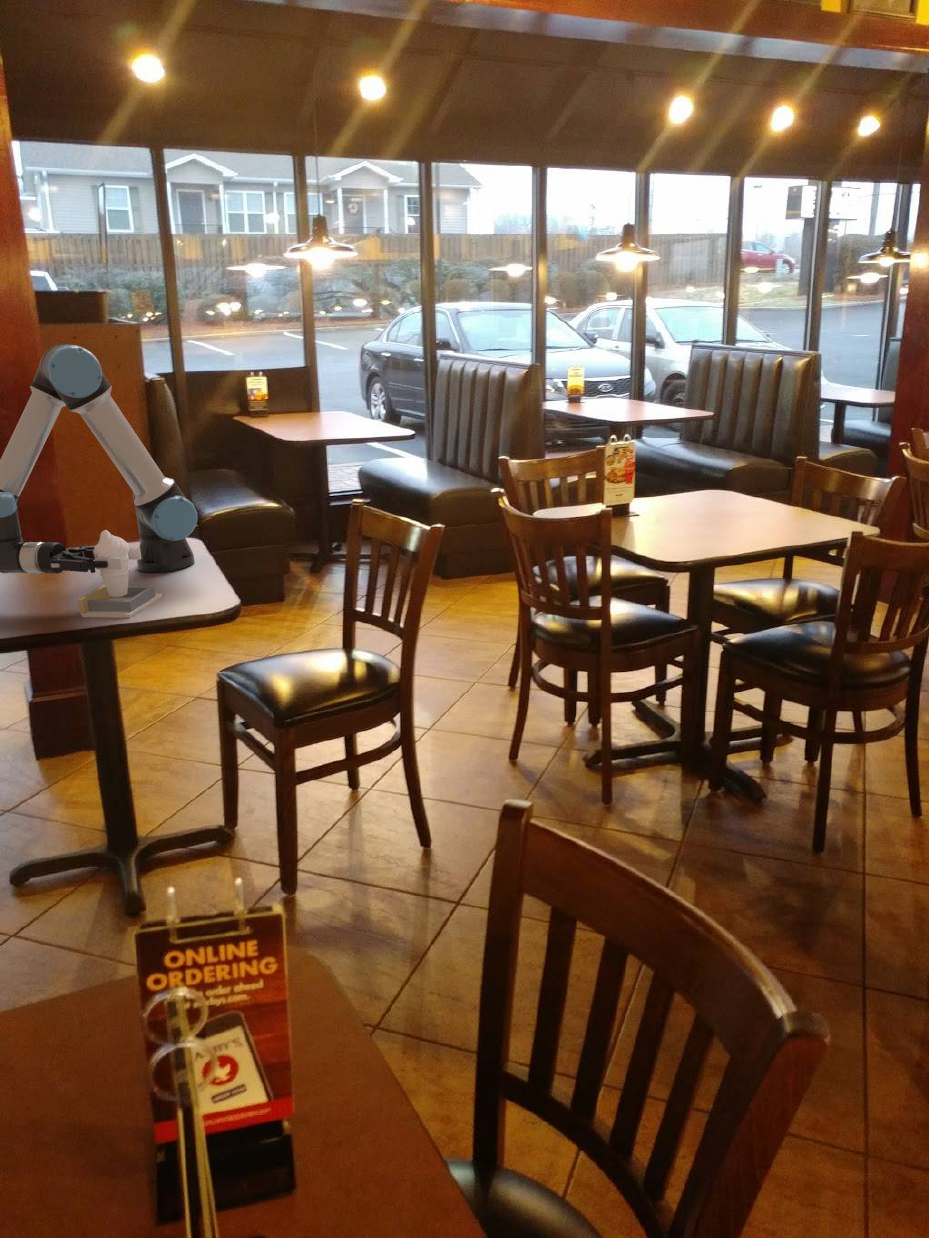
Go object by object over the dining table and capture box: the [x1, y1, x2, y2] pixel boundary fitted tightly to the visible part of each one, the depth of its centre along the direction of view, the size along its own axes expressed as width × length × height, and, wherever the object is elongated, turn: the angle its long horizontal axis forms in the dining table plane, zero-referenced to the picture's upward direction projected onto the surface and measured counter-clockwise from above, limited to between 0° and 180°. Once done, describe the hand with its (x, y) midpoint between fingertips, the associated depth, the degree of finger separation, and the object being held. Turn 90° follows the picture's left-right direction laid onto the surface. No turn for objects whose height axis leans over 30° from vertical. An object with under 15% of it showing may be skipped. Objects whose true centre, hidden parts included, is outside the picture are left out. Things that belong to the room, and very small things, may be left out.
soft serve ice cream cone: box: [93, 529, 130, 597], centre depth 243 cm, size 8×8×16 cm
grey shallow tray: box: [77, 584, 163, 619], centre depth 246 cm, size 13×16×4 cm
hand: (130, 558), depth 242 cm, fingers closed on soft serve ice cream cone, 8 cm apart
